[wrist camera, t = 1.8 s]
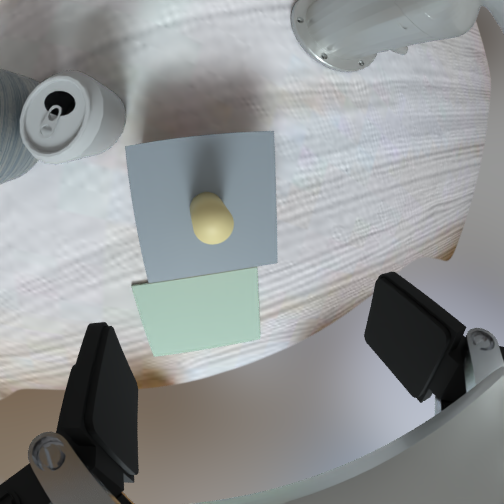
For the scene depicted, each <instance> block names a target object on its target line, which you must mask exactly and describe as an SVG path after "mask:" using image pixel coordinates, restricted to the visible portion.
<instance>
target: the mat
mask: <svg viewBox="0 0 504 504" xmlns="http://www.w3.org/2000/svg"><path fill="white" fill-rule="evenodd" d="M132 290H133V294H134V297H135V301H136V304H137V307H138V311H139V314H140V317H141V320H142V323H143V326H144V329H145V332H146V335H147V338H148V341H149V344H150V347H151V350H152V352H153V355H154V357H155V356H163V355H170V354H178V353H185V352H191V351H198V350H204V349H210V348H215V347H221V346H227V345H232V344H237V343H242V342H247V341H252V340H257V339H260V320H259V297H258V275H257V266H256V267H250V268H244V269H238V270H232V271H225V272H219V273H213V274H206V275H200V276H193V277H187V278H180V279H173V280H167V281H160V282H153V283H143V284H136V285H132Z"/></svg>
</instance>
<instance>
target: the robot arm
mask: <svg viewBox="0 0 504 504" xmlns="http://www.w3.org/2000/svg"><path fill="white" fill-rule="evenodd" d="M480 6H484V7H486V8H487V9H488V10H489V11H490V12H491V14H492V15H493V17H494V18H495V20H496V22H497V24H498V25H499V26H500V28H501V30H502V32H503V34H504V0H298V1H297V2H296V3H295V5H294V7H293V9H292V14H291V24H292V28H293V32H294V34H295V36H296V38H297V40H298V42H299V43H300V45H301V46H302V48H303V49H304V50H305V51H306V52H307V53H308V54H309V55H310V56H311V57H312V58H314V59H315V60H316V61H317V62H319V63H321V64H322V65H324V66H326V67H328V68H330V69H333V70H337V71H341V72H353V71H358V70H361V69H364V68H366V67H368V66H369V65H370V64H371V63H372V62H373V61H374V59H375V57H376V55H377V53H380V52H384V51H389V50H391V51H393V52H395V53H398V54H401V55H405V54H406V53H407V51H408V47H407V46H409V45H414V44H420V43H425V42H431V41H437V40H443V39H449V38H455V37H459V36H461V35H463V34H465V33H466V32H468V31H469V30H470V29H471V28H472V26H473V25H474V23H475V21H476V18H477V16H478V13H479V10H480ZM465 329H466V326H464V325H463V324H462V323H461V322H459V321H458V320H457V319H456V318H455V317H453V316H452V315H451V314H450V313H448V312H447V311H446V310H445V309H443V308H442V307H440V306H439V305H438V304H437V303H436V302H434V301H433V300H432V299H430V298H429V297H428V296H426V295H425V294H424V293H422V292H421V291H420V290H419V289H417V288H416V287H414V286H413V285H412V284H411V283H409V282H408V281H406V280H405V279H404V278H402V277H401V276H399V275H398V274H397V273H395V272H389V273H385V274H381V275H380V276H379V277H378V279H377V281H376V283H375V288H374V293H373V299H372V303H371V308H370V312H369V317H368V321H367V325H366V329H365V334H364V337H365V340H366V342H367V344H368V345H369V346H370V347H371V348H372V349H373V351H375V353H376V354H377V355H378V356H379V358H380V359H381V360H382V361H383V362H384V363H385V365H386V366H387V367H388V368H389V369H390V370H391V371H392V373H393V374H394V375H395V376H396V378H397V379H398V380H399V381H400V382H401V383H402V385H403V386H404V387H405V388H406V389H407V390H408V392H409V393H410V394H411V395H412V396H413V397H414V398H417V399H418V400H419V402H420V403H422V402H423V401H425V400H426V399H428V398H430V396H431V395H432V393H433V394H434V395H435V416H434V417H433V418H431V419H429V420H428V421H426V422H425V423H423V424H422V425H420V426H418V427H417V428H415V429H414V430H412V431H410V432H408V433H407V434H405V435H403V436H402V437H400V438H398V439H396V440H394V441H393V442H391V443H389V444H387V445H385V446H383V447H381V448H379V449H377V450H375V451H374V452H371V453H369V454H367V455H365V456H363V457H361V458H359V459H356V460H354V461H352V462H350V463H348V464H345V465H342V466H340V467H338V468H335V469H333V470H330V471H328V472H325V473H322V474H319V475H317V476H314V477H311V478H308V479H305V480H302V481H299V482H296V483H292V484H289V485H286V486H282V487H278V488H275V489H271V490H267V491H263V492H259V493H254V494H250V495H245V496H240V497H234V498H229V499H223V500H216V501H209V502H201V503H193V504H504V347H501V346H499V345H498V342H497V340H496V338H495V337H494V336H493V334H491V333H490V332H489V331H486V330H484V329H480V328H474V329H471V330H469V331H468V333H467V335H466V337H464V336H463V334H464V331H465ZM137 411H138V386H137V382H136V380H135V378H134V376H133V373H132V371H131V369H130V367H129V365H128V362H127V360H126V358H125V355H124V353H123V351H122V348H121V346H120V343H119V341H118V338H117V336H116V333H115V331H114V328H113V327H112V326H108V325H107V323H105V322H101V323H91V324H89V325H88V327H87V330H86V333H85V336H84V339H83V342H82V345H81V348H80V352H79V355H78V358H77V362H76V364H75V365H74V366H73V367H72V369H71V372H70V376H69V379H68V383H67V387H66V391H65V395H64V399H63V403H62V408H61V412H60V416H59V421H58V426H57V431H56V433H54V432H45V433H42V434H40V435H38V436H37V437H36V438H34V439H33V441H32V442H31V444H30V446H29V450H28V459H29V462H30V463H29V464H28V465H27V466H25V467H24V468H23V469H21V470H20V471H19V472H17V473H16V474H15V475H13V476H12V477H10V478H9V479H8V480H7V481H5V482H4V483H2V484H1V485H0V504H135V503H133V502H132V501H131V500H130V499H129V498H128V497H127V496H126V494H125V493H123V490H124V482H128V483H129V482H130V483H134V475H137V474H138V470H139V469H138V441H137V413H138V412H137Z"/></svg>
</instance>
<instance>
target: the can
mask: <svg viewBox="0 0 504 504" xmlns="http://www.w3.org/2000/svg"><path fill="white" fill-rule="evenodd" d="M125 122H126V115H125V108H124V105H123V103H122V101H121V99H120V98H119V97H118V96H117V95H116V94H115V93H114V92H112V91H111V90H109V89H108V88H107V87H105V86H104V85H102V84H101V83H99V82H98V81H96V80H95V79H93V78H92V77H90V76H88V75H86V74H84V73H82V72H80V71H64V72H61V73H57V74H54V75H53V76H51V77H50V78H47V79H46V80H44V81H43V82H41V83H40V84H39V85H37V86H36V87H35V89H34V90H33V91H32V92H31V93H30V94H29V96H28V98H27V100H26V101H25V103H24V105H23V108H22V112H21V116H20V135H21V138H22V141H23V144H24V145H25V146H26V148H27V149H28V150H29V152H30V153H31V154H32V155H33V156H34V157H35V158H36V159H38V160H40V161H41V162H43V163H47V164H54V165H57V164H62V163H66V162H71V161H74V160H78V159H82V158H86V157H90V156H94V155H98V154H101V153H103V152H105V151H106V150H108V149H110V148H111V147H112V146H113V145H114V144H115V143H116V142H117V141H118V139H119V137H120V136H121V134H122V132H123V129H124V125H125Z"/></svg>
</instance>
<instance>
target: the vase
mask: <svg viewBox="0 0 504 504" xmlns="http://www.w3.org/2000/svg"><path fill="white" fill-rule="evenodd" d="M39 84H40V83H39V82H38V81H36V80H34V79H31V78H28V77H25V76H22V75H19V74H16V73H13V72H9V71H6V70H2V69H0V184H2V183H5V182H8V181H10V180H13V179H16V178H18V177H21V176H22V175H24V174H25V173H27V172H28V171H29V170H30V169H31V168H32V167H33V166H34V165H35V164H36V163H37V161H38V159H36V158H35V157H34V156H33V155H32V154H31V153H30V152H29V150H28V149H27V148H26V146H25V145H24V144H23V141H22V138H21V135H20V116H21V112H22V108H23V105H24V103H25V101H26V100H27V98H28V96H29V94H30V93H31V92H32V91H33V90H34V89H35V87H36V86H37V85H39Z"/></svg>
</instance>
